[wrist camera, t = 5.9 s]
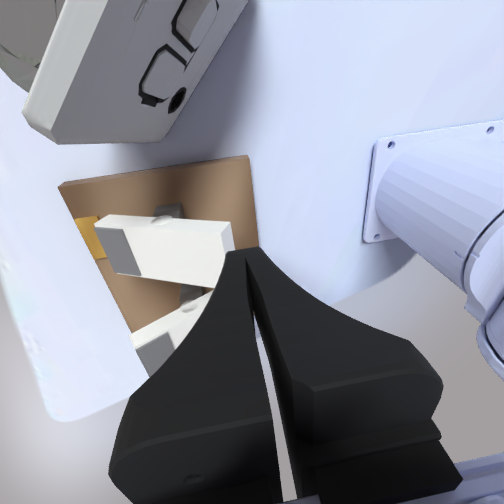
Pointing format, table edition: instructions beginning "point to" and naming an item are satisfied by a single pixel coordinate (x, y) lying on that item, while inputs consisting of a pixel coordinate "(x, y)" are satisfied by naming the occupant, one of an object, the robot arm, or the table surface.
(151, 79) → the electrical switch
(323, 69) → the table surface
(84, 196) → the switch board
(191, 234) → the front rocker
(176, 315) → the block
